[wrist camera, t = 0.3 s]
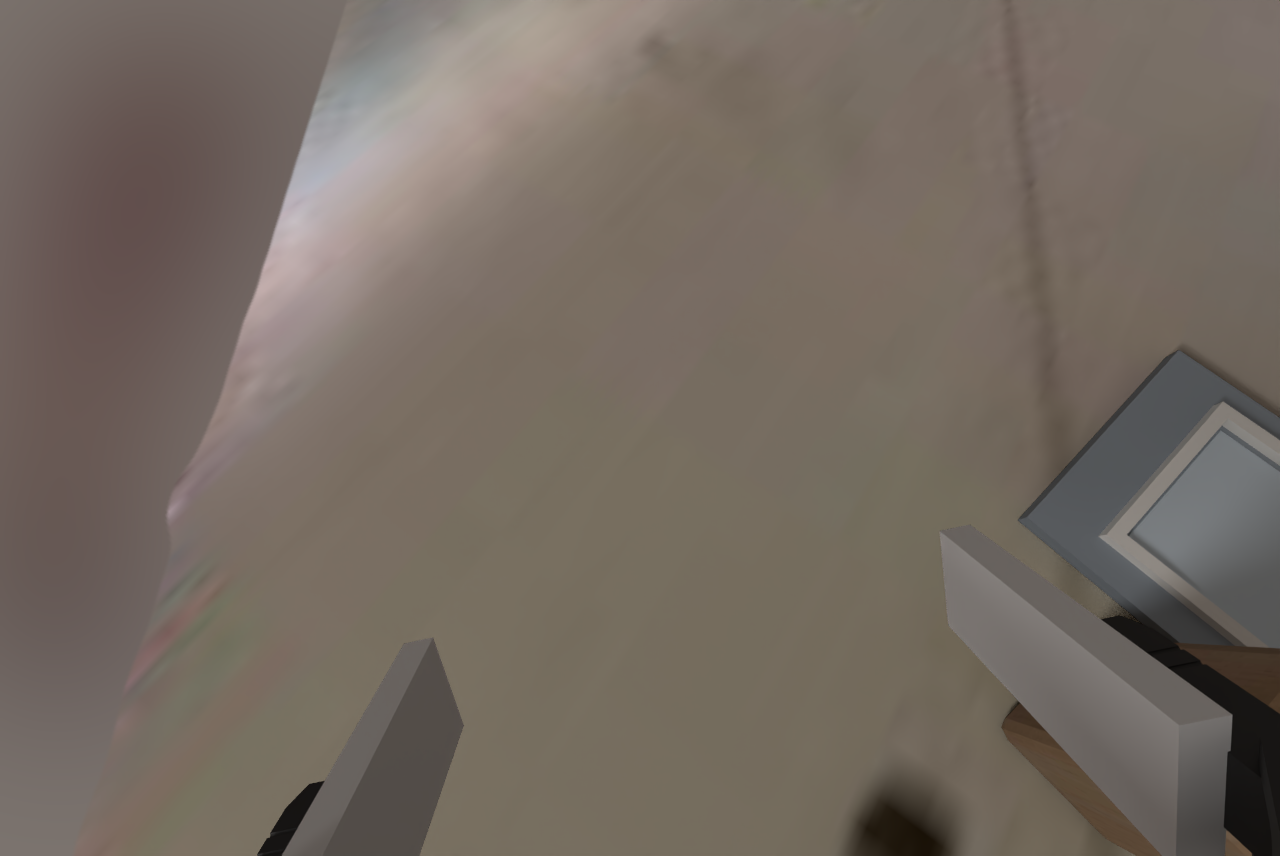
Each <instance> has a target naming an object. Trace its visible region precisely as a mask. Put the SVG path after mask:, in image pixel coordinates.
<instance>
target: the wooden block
mask: <svg viewBox="0 0 1280 856" xmlns="http://www.w3.org/2000/svg"><path fill="white" fill-rule="evenodd" d="M1175 644H1177V645H1178V646H1179V648H1180V649H1181V650H1183V649H1184V650H1186V651H1187V652H1189V653H1190V654H1192V655H1193V656H1195V657H1196V658H1198V659H1199V660H1200V661H1201V663H1202V664H1203V665H1204V664H1207V665H1208V666H1210V667H1211V668H1213V669H1214V670H1216V671H1217V672H1219V673H1220V674H1222V675H1223V676H1225V677H1226V678H1227V679H1229V680H1230V681H1232V682H1233V683H1235V684H1236V685H1238V686H1239V687H1241V688H1242V689H1244V690H1245V691H1247V692H1248V693H1250V694H1251V695H1253V696H1254V697H1256V698H1257V699H1259V700H1260V701H1262V702H1263V703H1265V704H1266V705H1268V706H1269V707H1271V708H1272V709H1274V710H1275V711H1277V712H1278V713H1280V648H1264V647H1245V646H1227V645H1208V644H1190V643H1175ZM1001 728H1002V729H1003V731H1004V733H1005V735H1006V737H1007V739H1008V740H1009V741H1010V742H1011V743H1012V744H1013V745H1014V746H1015V747H1016V748H1017V749H1018V750H1019V751H1020V752H1021V753H1022V754H1023V755H1024V756H1025V757H1026V758H1027V759H1028V760H1029V761H1030V762H1031V763H1032V765H1033V766H1034V767H1035V768H1036V769H1037V770H1038V771H1039V772H1040V773H1041V774H1042V775H1043V776H1044V777H1045V778H1046V779H1047V780H1048V781H1049V782H1050V783H1051V784H1052V785H1053V786H1054V787H1055V788H1056V789H1057V790H1058V791H1059V792H1060V793H1061V794H1062V795H1063V796H1064V797H1065V798H1066V799H1067V800H1068V801H1069V802H1070V803H1071V804H1072V805H1073V806H1074V807H1075V808H1076V809H1077V810H1078V811H1079V812H1080V813H1081V814H1082V815H1083V816H1084V817H1085V818H1086V819H1087V820H1088V821H1089V822H1090V823H1091V824H1092V825H1093V826H1094V827H1095V828H1096V829H1097V830H1098V831H1099V832H1100V833H1101V834H1102V835H1103V836H1104V837H1105V838H1106V839H1107V840H1109V841H1111V842H1113V843H1115V844H1116V845H1118V846H1120V847H1122V848H1124V849H1125V850H1127V851H1129V852H1131V853H1133V854H1135V855H1136V856H1162V855H1161V854H1160V853H1159V852H1158V851H1157V850H1156V849H1155V848H1154V847H1153V845H1152V844H1151V843H1150V842H1149V841H1148V840H1147V839H1146V838H1145V837H1144V836H1143V835H1142V834H1141V833H1140V831H1139V830H1138V829H1137V828H1136V827H1135V826H1134V825H1133V824H1132V823H1131V822H1130V821H1129V820H1128V819H1127V817H1126V816H1125V815H1124V814H1123V813H1122V812H1121V811H1120V810H1119V809H1118V808H1117V807H1116V806H1115V804H1114V803H1113V802H1112V801H1111V800H1110V799H1109V798H1108V797H1107V796H1106V795H1105V794H1104V793H1103V792H1102V790H1101V789H1100V788H1099V787H1098V786H1097V785H1096V784H1095V783H1094V782H1093V781H1092V780H1091V779H1090V778H1089V776H1088V775H1087V774H1086V773H1085V772H1084V771H1083V770H1082V769H1081V768H1080V767H1079V766H1078V765H1077V764H1076V762H1075V761H1074V760H1073V759H1072V758H1071V757H1070V756H1069V755H1068V754H1067V753H1066V752H1065V751H1064V750H1063V748H1062V747H1061V746H1060V745H1059V744H1058V743H1057V742H1056V741H1055V740H1054V739H1053V738H1052V737H1051V735H1050V734H1049V733H1048V732H1047V731H1046V730H1045V729H1044V728H1043V727H1042V726H1041V725H1040V724H1039V723H1038V721H1037V720H1036V719H1035V718H1034V717H1033V716H1032V715H1031V714H1030V713H1029V712H1028V711H1027V710H1026V709H1025V707H1024V706H1023V705H1022V704H1021V703H1019V704H1018V705H1017V706H1016V708H1015V709H1014V710H1013V711H1012V712H1011V713H1010V714H1009V715H1008V716H1007V717H1006V718H1005V720H1004V722H1003V724H1002V727H1001ZM1225 856H1252V853H1251V852H1250V851H1249V850H1248V849H1247V848H1246V847H1245V846H1244V845H1242V844H1241V843H1240V842H1239V841H1238V840H1237V839H1236V838H1235V837H1234V836H1233V835H1232V834H1231V833H1229V832H1228V831H1227V830H1226V845H1225Z"/></svg>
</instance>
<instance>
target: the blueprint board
mask: <svg viewBox="0 0 1280 856" xmlns="http://www.w3.org/2000/svg"><path fill="white" fill-rule="evenodd" d="M1018 521H1019V522H1021V523H1022V524H1023V525H1024V526H1025V527H1027V528H1028V529H1029V530H1030V531H1031V532H1033V533H1034V534H1035V535H1036V536H1037V537H1039V538H1040V539H1041V540H1042V541H1043V542H1045V543H1046V544H1047V545H1048V546H1049V547H1051V548H1052V549H1053V550H1054V551H1055V552H1057V553H1058V554H1059V555H1060V556H1062V557H1063V558H1064V559H1065V560H1066V561H1068V562H1069V563H1070V564H1071V565H1072V566H1074V567H1075V568H1076V569H1077V570H1078V571H1080V572H1081V573H1082V574H1083V575H1084V576H1086V577H1087V578H1088V579H1089V580H1090V581H1092V582H1093V583H1094V584H1095V585H1097V586H1098V587H1099V588H1100V589H1101V590H1103V591H1104V592H1105V593H1106V594H1107V595H1109V596H1110V597H1111V598H1112V599H1113V600H1115V601H1116V602H1117V603H1118V604H1119V605H1121V606H1122V607H1123V608H1124V609H1125V610H1127V611H1128V612H1129V613H1130V614H1131V615H1133V616H1134V617H1135V618H1136V619H1138V620H1139V621H1140V622H1141V623H1142V624H1144V625H1146V626H1148V627H1151V628H1153V629H1154V630H1156V631H1157V632H1159V633H1160V634H1162V635H1163V636H1165V637H1166V638H1168V639H1169V640H1171V641H1172V642H1174V643H1190V644H1208V645H1227V646H1245V647H1264V648H1280V418H1279V417H1278V416H1276V415H1275V414H1273V413H1272V412H1270V411H1269V410H1267V409H1266V408H1264V407H1263V406H1261V405H1260V404H1258V403H1257V402H1255V401H1254V400H1252V399H1251V398H1249V397H1248V396H1247V395H1245V394H1244V393H1242V392H1241V391H1239V390H1238V389H1236V388H1235V387H1233V386H1232V385H1230V384H1229V383H1227V382H1226V381H1224V380H1223V379H1221V378H1220V377H1218V376H1217V375H1215V374H1214V373H1212V372H1211V371H1209V370H1208V369H1206V368H1205V367H1204V366H1202V365H1201V364H1199V363H1198V362H1196V361H1195V360H1193V359H1192V358H1190V357H1189V356H1187V355H1186V354H1184V353H1183V352H1181V351H1180V350H1178V351H1176V352H1174V353H1173V354H1171V355H1169V356H1167V357H1166V358H1165V359H1164V360H1163V361H1162V362H1161V363H1160V364H1159V365H1158V366H1157V367H1156V369H1155V370H1154V371H1153V372H1152V373H1151V374H1150V375H1149V376H1148V377H1147V378H1146V380H1145V381H1144V382H1143V383H1142V384H1141V385H1140V386H1139V387H1138V388H1137V389H1136V391H1135V392H1134V393H1133V394H1132V395H1131V396H1130V397H1129V398H1128V399H1127V400H1126V401H1125V403H1124V404H1123V405H1122V406H1121V407H1120V408H1119V409H1118V410H1117V411H1116V412H1115V414H1114V415H1113V416H1112V417H1111V418H1110V419H1109V420H1108V421H1107V422H1106V423H1105V425H1104V426H1103V427H1102V428H1101V429H1100V430H1099V431H1098V432H1097V433H1096V434H1095V436H1094V437H1093V438H1092V439H1091V440H1090V441H1089V442H1088V443H1087V444H1086V445H1085V447H1084V448H1083V449H1082V450H1081V451H1080V452H1079V453H1078V454H1077V455H1076V456H1075V458H1074V459H1073V460H1072V461H1071V462H1070V463H1069V464H1068V465H1067V466H1066V467H1065V468H1064V470H1063V471H1062V472H1061V473H1060V474H1059V475H1058V476H1057V477H1056V478H1055V479H1054V481H1053V482H1052V483H1051V484H1050V485H1049V486H1048V487H1047V488H1046V489H1045V490H1044V492H1043V493H1042V494H1041V495H1040V496H1039V497H1038V498H1037V499H1036V500H1035V501H1034V503H1033V504H1032V505H1031V506H1030V507H1029V508H1028V509H1027V510H1026V511H1025V512H1024V514H1023V515H1022V516H1021V517H1020V518H1019V519H1018Z"/></svg>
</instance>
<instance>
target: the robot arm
mask: <svg viewBox="0 0 1280 856" xmlns="http://www.w3.org/2000/svg"><path fill="white" fill-rule="evenodd" d="M940 540H941V551H942V562H943V573H944V584H945V595H946V606H947V617H948V626H949V627H950V628H951V629H952V630H953V631H954V632H955V633H956V634H957V635H958V636H959V637H960V638H961V640H962V641H963V642H964V643H965V644H966V645H967V646H968V647H969V648H970V649H971V650H972V651H973V652H974V654H975V655H976V656H977V657H978V658H979V659H980V660H981V661H982V662H983V663H984V664H985V665H986V666H987V668H988V669H989V670H990V671H991V672H992V673H993V674H994V675H995V676H996V677H997V678H998V679H999V681H1000V682H1001V683H1002V684H1003V685H1004V686H1005V687H1006V688H1007V689H1008V690H1009V691H1010V692H1011V693H1012V695H1013V696H1014V697H1015V698H1016V699H1017V700H1018V701H1019V702H1020V703H1021V704H1022V705H1023V706H1024V707H1025V709H1026V710H1027V711H1028V712H1029V713H1030V714H1031V715H1032V716H1033V717H1034V718H1035V719H1036V720H1037V721H1038V723H1039V724H1040V725H1041V726H1042V727H1043V728H1044V729H1045V730H1046V731H1047V732H1048V733H1049V734H1050V735H1051V737H1052V738H1053V739H1054V740H1055V741H1056V742H1057V743H1058V744H1059V745H1060V746H1061V747H1062V748H1063V750H1064V751H1065V752H1066V753H1067V754H1068V755H1069V756H1070V757H1071V758H1072V759H1073V760H1074V761H1075V762H1076V764H1077V765H1078V766H1079V767H1080V768H1081V769H1082V770H1083V771H1084V772H1085V773H1086V774H1087V775H1088V776H1089V778H1090V779H1091V780H1092V781H1093V782H1094V783H1095V784H1096V785H1097V786H1098V787H1099V788H1100V789H1101V790H1102V792H1103V793H1104V794H1105V795H1106V796H1107V797H1108V798H1109V799H1110V800H1111V801H1112V802H1113V803H1114V804H1115V806H1116V807H1117V808H1118V809H1119V810H1120V811H1121V812H1122V813H1123V814H1124V815H1125V816H1126V817H1127V819H1128V820H1129V821H1130V822H1131V823H1132V824H1133V825H1134V826H1135V827H1136V828H1137V829H1138V830H1139V831H1140V833H1141V834H1142V835H1143V836H1144V837H1145V838H1146V839H1147V840H1148V841H1149V842H1150V843H1151V844H1152V845H1153V847H1154V848H1155V849H1156V850H1157V851H1158V852H1159V853H1160V854H1161V855H1162V856H1225V845H1226V830H1227V831H1228V832H1229V833H1231V834H1232V835H1233V836H1234V837H1235V838H1236V839H1237V840H1238V841H1239V842H1240V843H1241V844H1242V845H1244V846H1245V847H1246V848H1247V849H1248V850H1249V851H1250V852H1251V853H1252V856H1280V713H1278V712H1277V711H1275V710H1274V709H1272V708H1271V707H1269V706H1268V705H1266V704H1265V703H1263V702H1262V701H1260V700H1259V699H1257V698H1256V697H1254V696H1253V695H1251V694H1250V693H1248V692H1247V691H1245V690H1244V689H1242V688H1241V687H1239V686H1238V685H1236V684H1235V683H1233V682H1232V681H1230V680H1229V679H1227V678H1226V677H1225V676H1223V675H1222V674H1220V673H1219V672H1217V671H1216V670H1214V669H1213V668H1211V667H1210V666H1208V665H1207V664H1204V665H1203V664H1202V663H1201V661H1200V660H1199V659H1198V658H1196V657H1195V656H1193V655H1192V654H1190V653H1189V652H1187V651H1186V650H1184V649H1183V650H1181V649H1180V648H1179V646H1178V645H1177V644H1175V643H1174V642H1172V641H1171V640H1169V639H1168V638H1166V637H1165V636H1163V635H1162V634H1160V633H1159V632H1157V631H1156V630H1154V629H1153V628H1151V627H1148V626H1146V625H1143V624H1140V623H1138V622H1135V621H1133V620H1130V619H1128V618H1125V617H1123V616H1115V617H1110V618H1105V619H1099V618H1098V617H1097V616H1095V615H1094V614H1093V613H1091V612H1090V611H1088V610H1087V609H1086V608H1084V607H1083V606H1081V605H1080V604H1079V603H1077V602H1076V601H1075V600H1073V599H1072V598H1070V597H1069V596H1068V595H1066V594H1065V593H1064V592H1062V591H1061V590H1059V589H1058V588H1057V587H1055V586H1054V585H1053V584H1051V583H1050V582H1048V581H1047V580H1046V579H1044V578H1043V577H1041V576H1040V575H1039V574H1037V573H1036V572H1035V571H1033V570H1032V569H1030V568H1029V567H1028V566H1026V565H1025V564H1024V563H1022V562H1021V561H1019V560H1018V559H1017V558H1015V557H1014V556H1012V555H1011V554H1010V553H1008V552H1007V551H1006V550H1004V549H1003V548H1001V547H1000V546H999V545H997V544H996V543H995V542H993V541H992V540H990V539H989V538H988V537H986V536H985V535H984V534H982V533H981V532H979V531H978V530H977V529H975V528H974V527H972V526H971V525H966V526H961V527H956V528H951V529H947V530H942V531H940ZM463 726H464V725H463V722H462V719H461V716H460V713H459V710H458V707H457V705H456V702H455V699H454V696H453V693H452V690H451V687H450V685H449V682H448V679H447V676H446V673H445V670H444V667H443V665H442V662H441V659H440V656H439V653H438V650H437V647H436V645H435V642H434V639H433V638H428V639H424V640H419V641H414V642H409V643H405V644H404V645H403V646H402V648H401V650H400V651H399V653H398V655H397V657H396V658H395V660H394V662H393V664H392V665H391V667H390V669H389V671H388V672H387V674H386V676H385V678H384V679H383V681H382V683H381V684H380V686H379V688H378V690H377V691H376V693H375V695H374V697H373V698H372V700H371V702H370V704H369V705H368V707H367V709H366V710H365V712H364V714H363V716H362V717H361V719H360V721H359V723H358V724H357V726H356V728H355V730H354V731H353V733H352V735H351V736H350V738H349V740H348V742H347V743H346V745H345V747H344V749H343V750H342V752H341V754H340V756H339V757H338V759H337V761H336V762H335V764H334V766H333V768H332V769H331V771H330V773H329V775H328V776H327V778H326V780H325V781H322V782H317V783H312V784H309V785H308V786H307V787H306V788H305V789H304V790H303V791H302V792H301V793H300V794H299V795H298V796H297V797H296V798H295V799H294V800H293V801H292V802H291V803H290V804H289V805H288V806H287V807H286V809H285V810H284V812H283V813H282V815H281V817H280V818H279V820H278V822H277V823H276V825H275V826H274V828H273V830H272V831H271V833H270V834H271V835H270V838H267V839H266V841H265V843H264V844H263V846H262V847H261V849H260V851H259V852H258V854H257V855H258V856H419V855H420V852H421V849H422V846H423V843H424V840H425V837H426V835H427V832H428V829H429V826H430V823H431V820H432V817H433V814H434V811H435V808H436V805H437V802H438V799H439V797H440V794H441V791H442V788H443V785H444V782H445V779H446V776H447V773H448V770H449V767H450V764H451V761H452V758H453V756H454V753H455V750H456V747H457V744H458V741H459V738H460V735H461V732H462V729H463Z"/></svg>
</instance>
